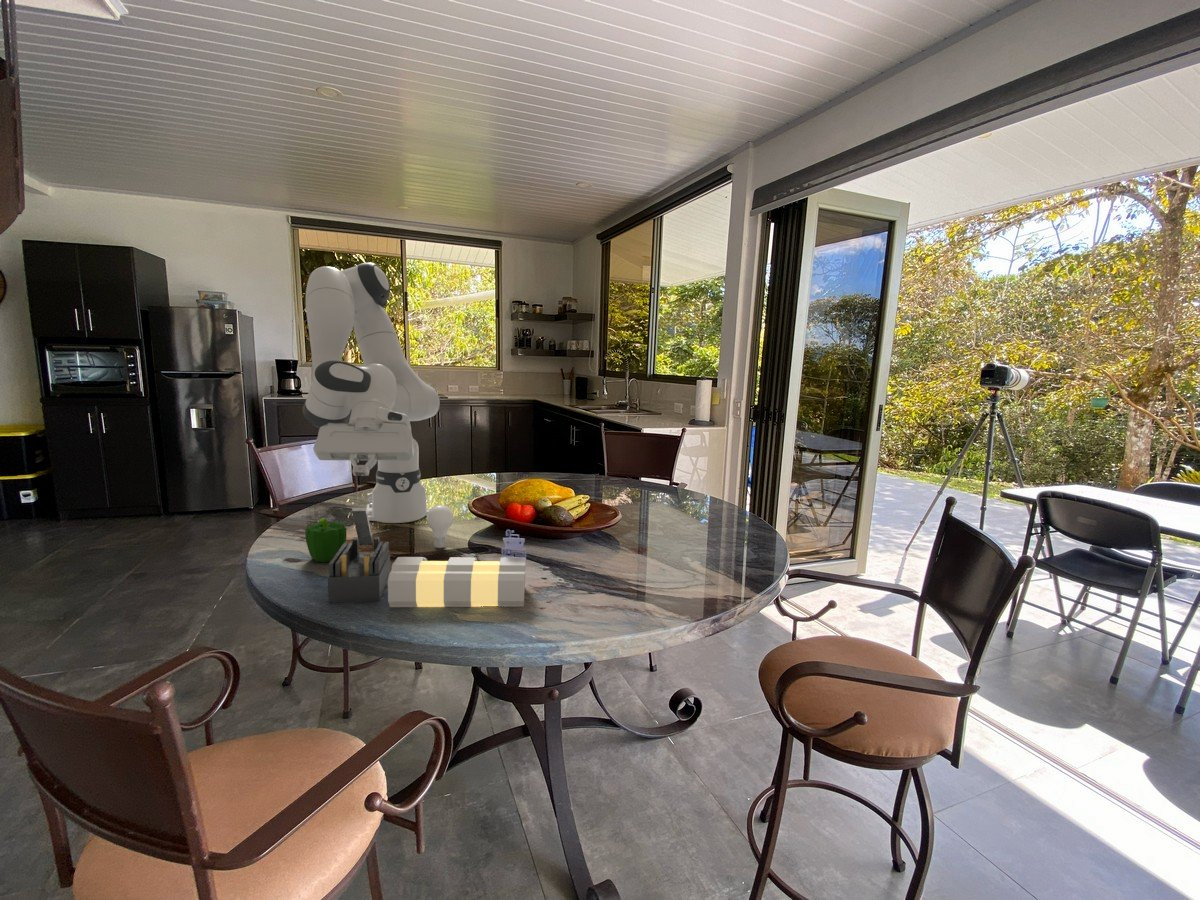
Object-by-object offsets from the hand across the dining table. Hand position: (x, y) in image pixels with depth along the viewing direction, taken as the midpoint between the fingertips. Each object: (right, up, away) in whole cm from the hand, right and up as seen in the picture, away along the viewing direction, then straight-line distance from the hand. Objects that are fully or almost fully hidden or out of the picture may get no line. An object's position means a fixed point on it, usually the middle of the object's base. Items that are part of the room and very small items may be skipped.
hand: (360, 474), depth 112 cm
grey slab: (+3, -11, -5) cm, 12 cm away
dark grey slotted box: (+3, -23, -6) cm, 23 cm away
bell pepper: (-12, -20, +9) cm, 25 cm away
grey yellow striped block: (+23, -25, -7) cm, 35 cm away
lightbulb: (+11, -19, +19) cm, 29 cm away
